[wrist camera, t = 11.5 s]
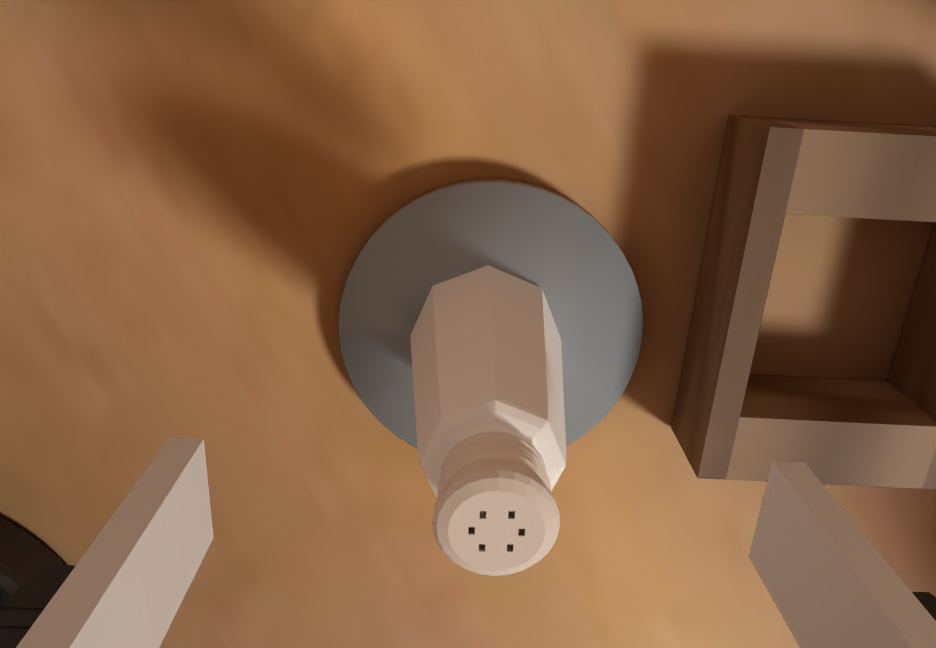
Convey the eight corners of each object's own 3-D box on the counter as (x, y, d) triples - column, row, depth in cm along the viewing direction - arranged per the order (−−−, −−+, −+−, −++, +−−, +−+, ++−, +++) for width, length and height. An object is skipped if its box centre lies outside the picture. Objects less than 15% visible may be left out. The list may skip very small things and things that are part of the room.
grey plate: (344, 444, 28) (340, 458, 27) (341, 169, 24) (336, 174, 23) (616, 457, 29) (621, 471, 28) (658, 186, 25) (665, 192, 24)
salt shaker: (565, 265, 25) (634, 424, 14) (555, 403, 27) (609, 629, 16) (410, 262, 24) (367, 419, 14) (411, 400, 27) (374, 625, 16)
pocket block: (671, 427, 28) (697, 478, 25) (728, 115, 24) (770, 127, 20) (894, 438, 28) (949, 489, 25) (993, 130, 24) (1075, 144, 21)
